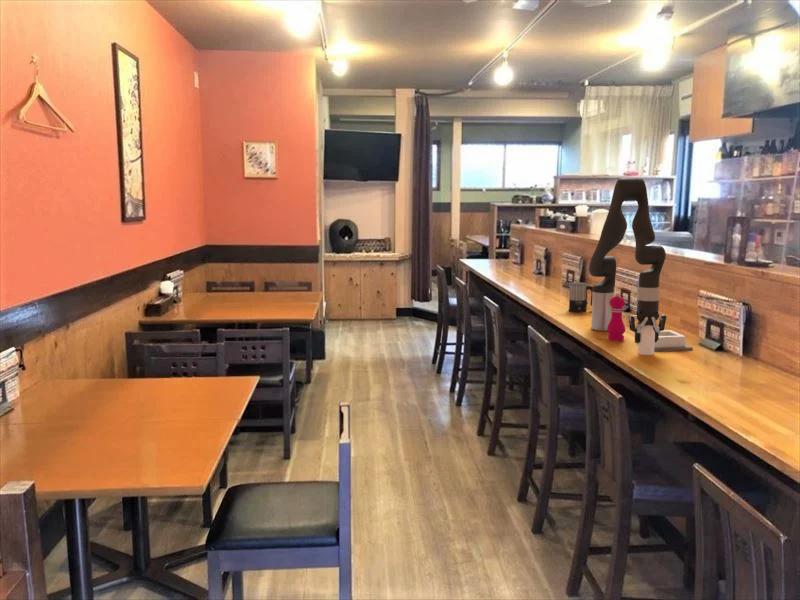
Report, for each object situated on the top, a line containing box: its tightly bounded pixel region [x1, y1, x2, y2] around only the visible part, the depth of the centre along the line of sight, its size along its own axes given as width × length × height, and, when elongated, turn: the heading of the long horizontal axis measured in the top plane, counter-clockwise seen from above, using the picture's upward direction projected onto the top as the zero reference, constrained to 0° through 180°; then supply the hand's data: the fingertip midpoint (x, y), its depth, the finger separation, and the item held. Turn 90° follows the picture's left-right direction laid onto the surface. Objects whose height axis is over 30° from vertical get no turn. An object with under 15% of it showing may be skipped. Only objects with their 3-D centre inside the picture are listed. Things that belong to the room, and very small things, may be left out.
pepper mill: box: [606, 292, 626, 342], centre depth 258 cm, size 7×7×20 cm
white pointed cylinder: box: [637, 325, 655, 356], centre depth 235 cm, size 6×12×6 cm
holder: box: [634, 329, 694, 352], centre depth 247 cm, size 16×16×5 cm
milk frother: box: [568, 281, 593, 313], centre depth 328 cm, size 14×16×15 cm
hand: (646, 341), depth 236 cm, fingers closed on white pointed cylinder, 6 cm apart
